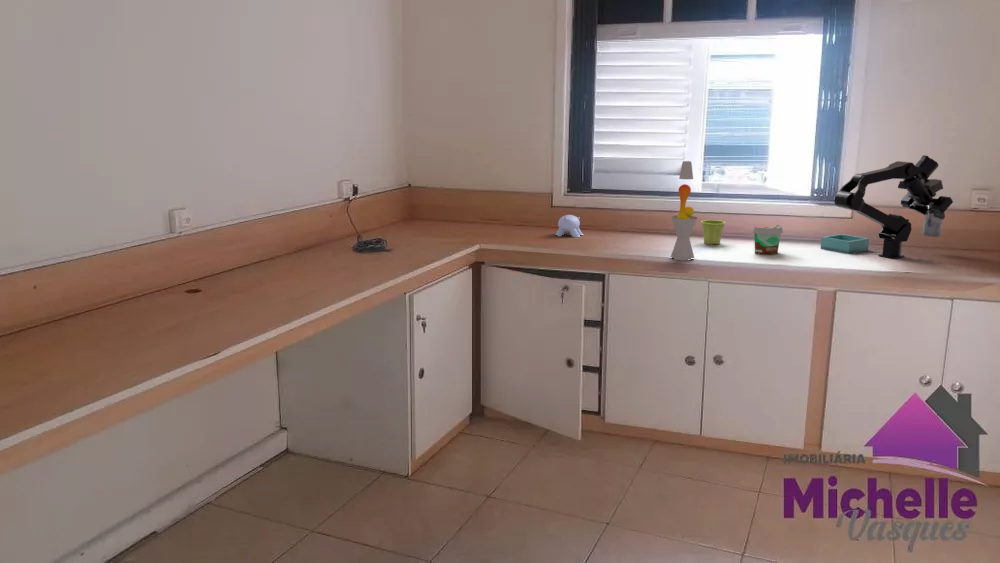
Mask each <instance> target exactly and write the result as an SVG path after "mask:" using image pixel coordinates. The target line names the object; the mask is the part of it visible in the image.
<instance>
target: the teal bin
mask: <svg viewBox="0 0 1000 563" xmlns="http://www.w3.org/2000/svg"><path fill="white" fill-rule="evenodd" d="M820 240H821V242H820V249H821V250H826V251H832V252H836V253H837V252H838V253H843V254H848V255H849V254H854V253H860V252H865V251H869V244H870V243H869V242H870V238H867V237H862V236H855V235H850V234H844V233H840V234H834V235H833V234H832V235H828V236H827V235H826V236H821V239H820Z"/></svg>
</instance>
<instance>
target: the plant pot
mask: <svg viewBox="0 0 1000 563" xmlns="http://www.w3.org/2000/svg"><path fill="white" fill-rule="evenodd" d="M700 223H701V225H702V231H703V232H702V233H703V234H702V235H703V243H704V244H706V245H714V244H715V245H719V244H721V238H722V234H723V229H724V227H725V224H726V221H724V220H718V219H705V220H701V221H700Z"/></svg>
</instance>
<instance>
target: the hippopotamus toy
mask: <svg viewBox="0 0 1000 563" xmlns="http://www.w3.org/2000/svg"><path fill="white" fill-rule="evenodd" d="M580 219H581V217H580V216H576V215H573V214H565V215H563V216H561V217H560V218H559V220H558V222H557V225H558V226H557V227H558V230H557V232H556V233H555V235H557V236H556V237H563V236H565V235H567V234H566V233H570V236H571V237H572V238H580V237H581V236H580V235H583V236H584V233H583V232H582V231H581V229H580V225H581V224H580ZM564 234H565V235H564ZM562 235H563V236H562Z"/></svg>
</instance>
